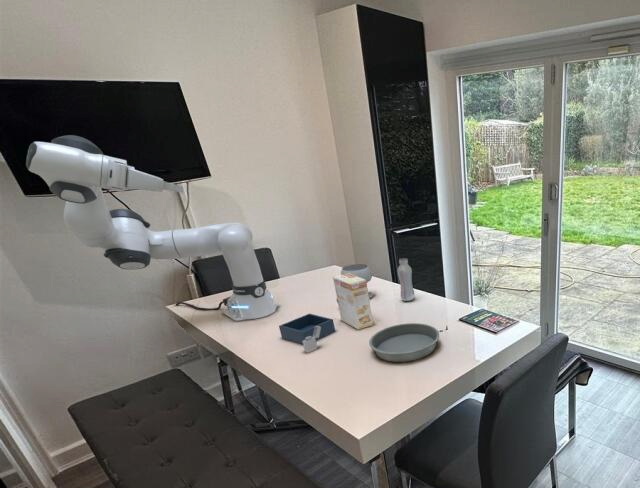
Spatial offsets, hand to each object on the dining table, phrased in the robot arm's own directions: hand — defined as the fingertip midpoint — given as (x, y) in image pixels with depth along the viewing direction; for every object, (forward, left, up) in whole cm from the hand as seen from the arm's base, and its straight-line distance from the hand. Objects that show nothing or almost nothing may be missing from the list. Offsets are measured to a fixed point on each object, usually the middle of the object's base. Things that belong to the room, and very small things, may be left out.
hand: (181, 189), depth 122 cm
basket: (+10, +23, -57) cm, 62 cm away
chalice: (-4, +63, -57) cm, 85 cm away
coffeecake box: (+18, +40, -57) cm, 72 cm away
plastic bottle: (+20, +70, -57) cm, 92 cm away
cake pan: (+52, +31, -57) cm, 83 cm away
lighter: (+22, +16, -57) cm, 63 cm away
